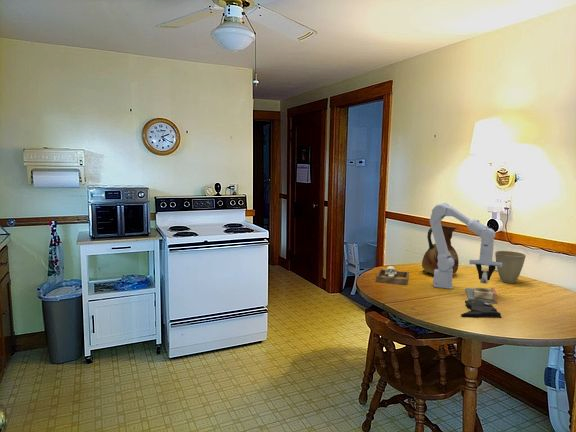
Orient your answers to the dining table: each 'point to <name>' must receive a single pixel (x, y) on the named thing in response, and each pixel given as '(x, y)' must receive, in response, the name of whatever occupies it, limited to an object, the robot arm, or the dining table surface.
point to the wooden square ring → (482, 293)
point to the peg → (484, 276)
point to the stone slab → (480, 309)
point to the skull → (391, 272)
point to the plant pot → (509, 265)
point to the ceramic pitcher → (431, 254)
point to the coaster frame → (393, 280)
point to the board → (470, 297)
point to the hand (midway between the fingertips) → (484, 279)
